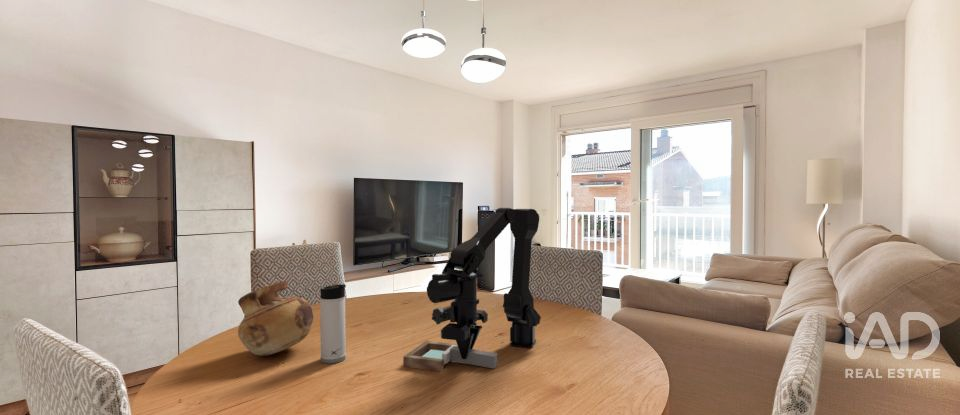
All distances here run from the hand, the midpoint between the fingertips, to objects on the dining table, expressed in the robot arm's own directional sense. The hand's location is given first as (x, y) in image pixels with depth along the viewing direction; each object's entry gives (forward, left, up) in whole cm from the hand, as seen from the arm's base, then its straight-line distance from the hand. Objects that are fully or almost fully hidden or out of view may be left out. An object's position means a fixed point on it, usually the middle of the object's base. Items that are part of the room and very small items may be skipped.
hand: (466, 357), depth 110 cm
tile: (+8, 0, -2) cm, 9 cm away
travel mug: (+35, +8, -2) cm, 36 cm away
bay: (+9, 0, -2) cm, 9 cm away
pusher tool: (-2, 0, -1) cm, 2 cm away
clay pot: (+53, +9, -2) cm, 53 cm away
